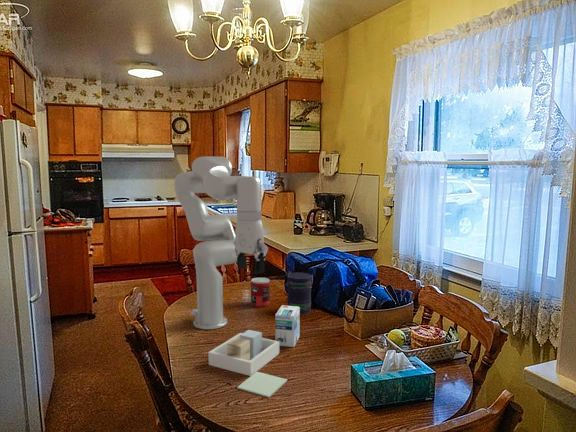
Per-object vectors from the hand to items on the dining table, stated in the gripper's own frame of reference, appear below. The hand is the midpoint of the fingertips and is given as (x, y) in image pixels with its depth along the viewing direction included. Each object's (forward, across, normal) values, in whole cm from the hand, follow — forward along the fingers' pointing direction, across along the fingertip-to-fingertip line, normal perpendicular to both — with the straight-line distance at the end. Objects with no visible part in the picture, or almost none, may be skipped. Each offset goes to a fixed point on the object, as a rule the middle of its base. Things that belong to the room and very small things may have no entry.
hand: (250, 270), depth 139 cm
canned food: (+26, -38, +30) cm, 55 cm away
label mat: (+28, +18, -9) cm, 34 cm away
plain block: (+27, 0, -1) cm, 27 cm away
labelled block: (+27, +3, -7) cm, 28 cm away
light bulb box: (+27, -2, +16) cm, 31 cm away
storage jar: (+26, -22, +38) cm, 51 cm away
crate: (+27, +1, -4) cm, 27 cm away
